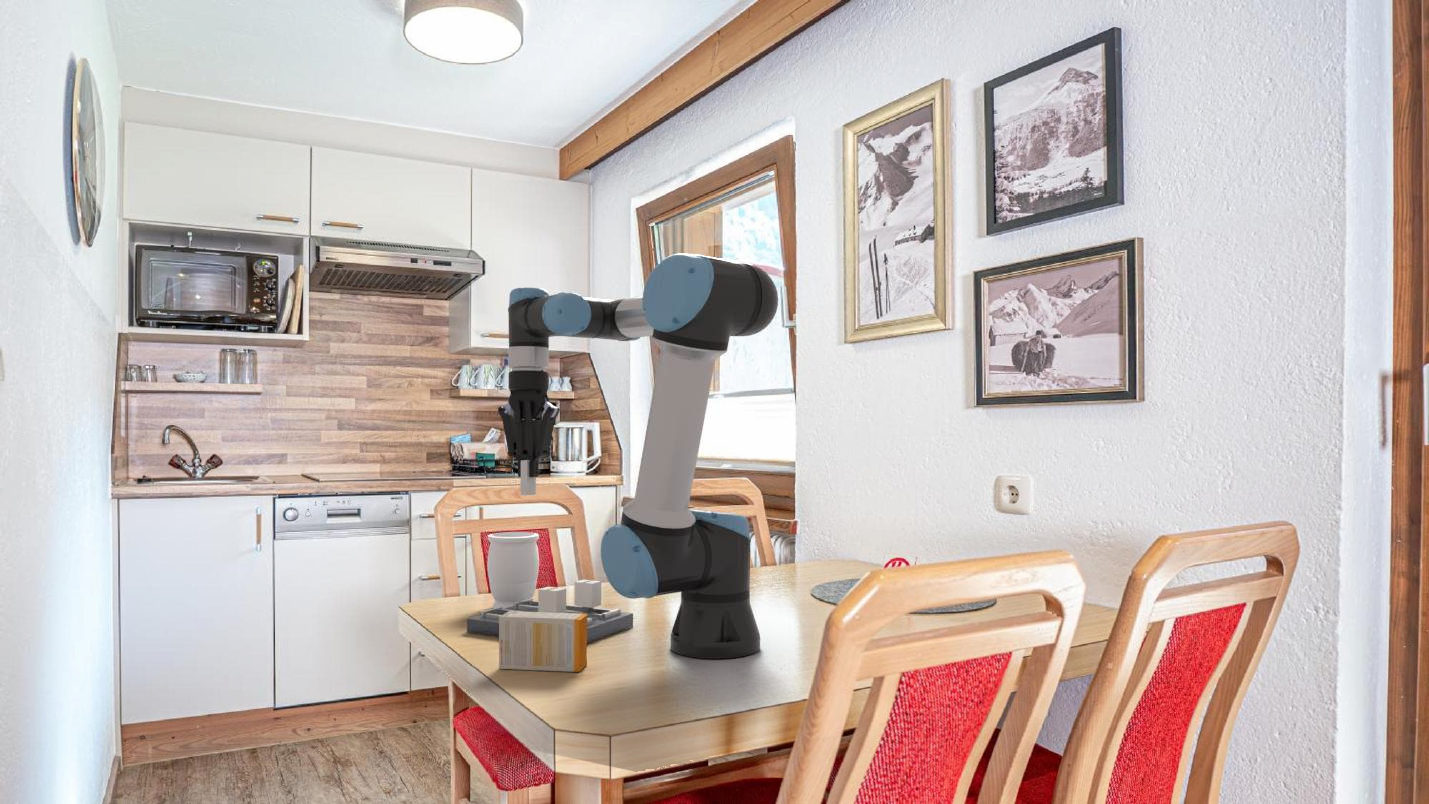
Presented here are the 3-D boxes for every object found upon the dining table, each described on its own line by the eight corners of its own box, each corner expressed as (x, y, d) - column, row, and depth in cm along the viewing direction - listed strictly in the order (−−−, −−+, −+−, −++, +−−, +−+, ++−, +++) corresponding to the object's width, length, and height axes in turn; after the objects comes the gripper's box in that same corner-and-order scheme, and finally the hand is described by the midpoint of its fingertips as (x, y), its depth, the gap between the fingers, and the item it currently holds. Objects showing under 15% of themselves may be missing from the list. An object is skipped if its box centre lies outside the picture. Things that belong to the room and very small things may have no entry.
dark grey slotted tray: (633, 626, 173) (633, 607, 173) (574, 647, 157) (574, 627, 157) (530, 614, 184) (530, 596, 185) (466, 632, 169) (467, 613, 169)
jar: (485, 604, 194) (485, 532, 194) (535, 601, 197) (536, 530, 197) (488, 614, 184) (489, 538, 184) (541, 611, 187) (542, 536, 187)
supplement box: (588, 612, 147) (509, 609, 149) (579, 619, 142) (497, 615, 144) (588, 665, 147) (508, 661, 149) (579, 674, 142) (497, 669, 144)
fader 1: (566, 620, 166) (566, 587, 166) (556, 623, 163) (556, 590, 163) (548, 617, 167) (548, 586, 167) (538, 620, 165) (538, 588, 165)
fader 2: (601, 611, 173) (601, 580, 173) (592, 614, 170) (592, 583, 170) (583, 609, 175) (583, 578, 175) (574, 612, 172) (574, 581, 172)
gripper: (568, 370, 178) (568, 494, 177) (513, 371, 183) (512, 492, 183) (545, 368, 171) (544, 497, 170) (488, 370, 176) (487, 494, 176)
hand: (528, 494), depth 177 cm, fingers closed
